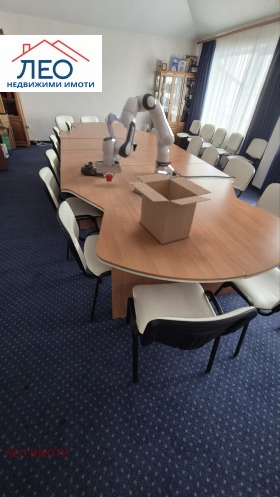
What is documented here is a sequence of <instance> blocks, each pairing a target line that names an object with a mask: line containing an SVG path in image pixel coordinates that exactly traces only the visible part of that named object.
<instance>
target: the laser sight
mask: <svg viewBox="0 0 280 497" xmlns="http://www.w3.org/2000/svg"><path fill="white" fill-rule="evenodd" d="M87 162H88V163H87V164H86V163H85V164H84V166H81V168H80V174H82V175H86V176H92V177H104V175H103V173H97V172H96V167H94V164H93V161H87ZM106 174H107V173H105V176H106Z"/></svg>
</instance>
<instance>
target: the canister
mask: <svg viewBox="0 0 280 497" xmlns="http://www.w3.org/2000/svg"><path fill="white" fill-rule="evenodd" d="M105 176H106V178H105V181H106V182H108V183H111V182H113V178H112V176H113V174H112V173H106V175H105Z"/></svg>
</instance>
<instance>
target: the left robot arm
mask: <svg viewBox="0 0 280 497" xmlns="http://www.w3.org/2000/svg"><path fill="white" fill-rule="evenodd" d="M120 117H121V116H118V115H116V114H114V113H112V112H110V113H108V115H107V116H106V127H107V130H108V134H109V137H112V138H113V139H114V140H116V141H117V139H116V135H115V132H114V129H113V124H114V123H115V122H119V123H120V124H122V122H121V119H120ZM123 127H124V129H126V130H127V128H126V127H125V126H124V125H123ZM136 131H137V129H136V128H135V133H134V138H133V142H132V151H133V152H135V153H136V149H137V147H138V142H137V141H136V142H135V138H136ZM114 158H117V159H119V160H121V158H122V157H121V158H120V156H119V155H116V154H114Z"/></svg>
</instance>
